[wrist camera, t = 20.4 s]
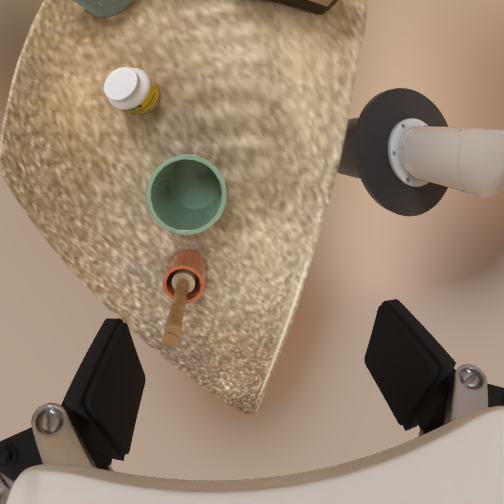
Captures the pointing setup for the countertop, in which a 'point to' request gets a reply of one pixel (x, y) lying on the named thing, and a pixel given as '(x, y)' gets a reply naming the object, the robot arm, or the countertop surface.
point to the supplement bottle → (132, 91)
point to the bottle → (311, 4)
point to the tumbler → (187, 193)
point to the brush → (178, 305)
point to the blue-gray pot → (104, 6)
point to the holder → (189, 262)
